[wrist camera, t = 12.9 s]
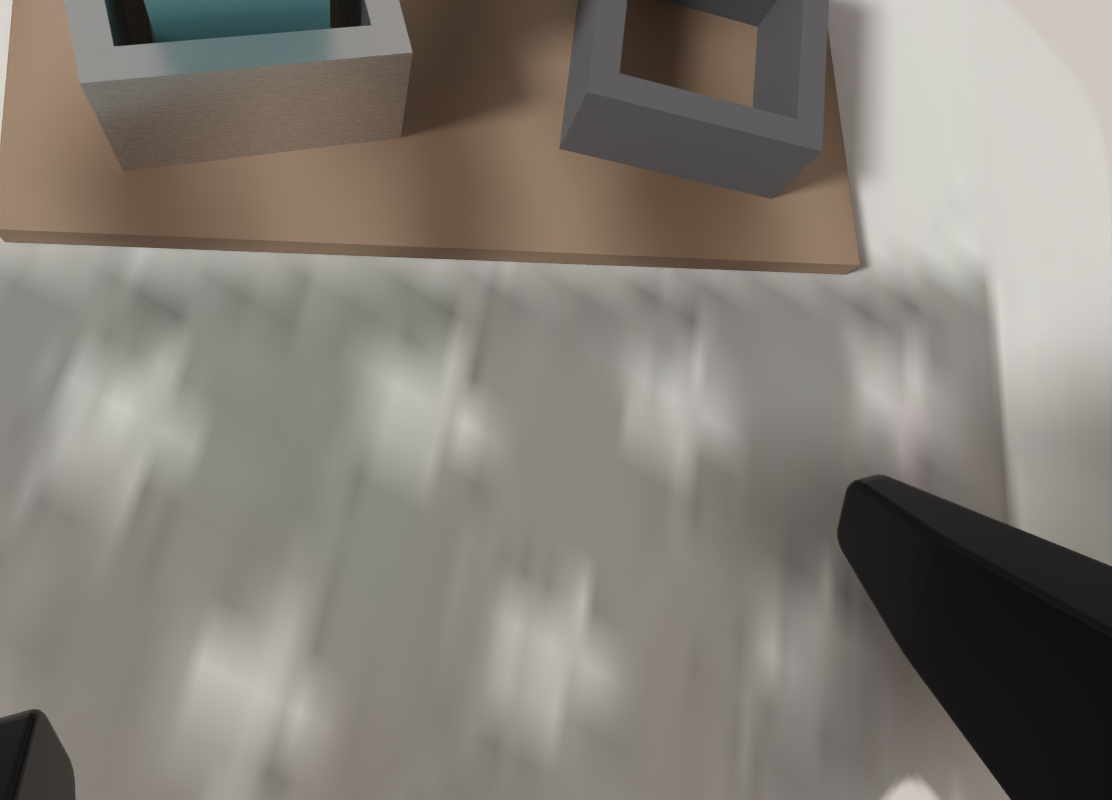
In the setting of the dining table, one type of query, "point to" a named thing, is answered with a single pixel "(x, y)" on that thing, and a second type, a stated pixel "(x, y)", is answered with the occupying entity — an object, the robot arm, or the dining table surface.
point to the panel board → (432, 157)
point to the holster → (703, 100)
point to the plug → (233, 18)
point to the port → (242, 86)
